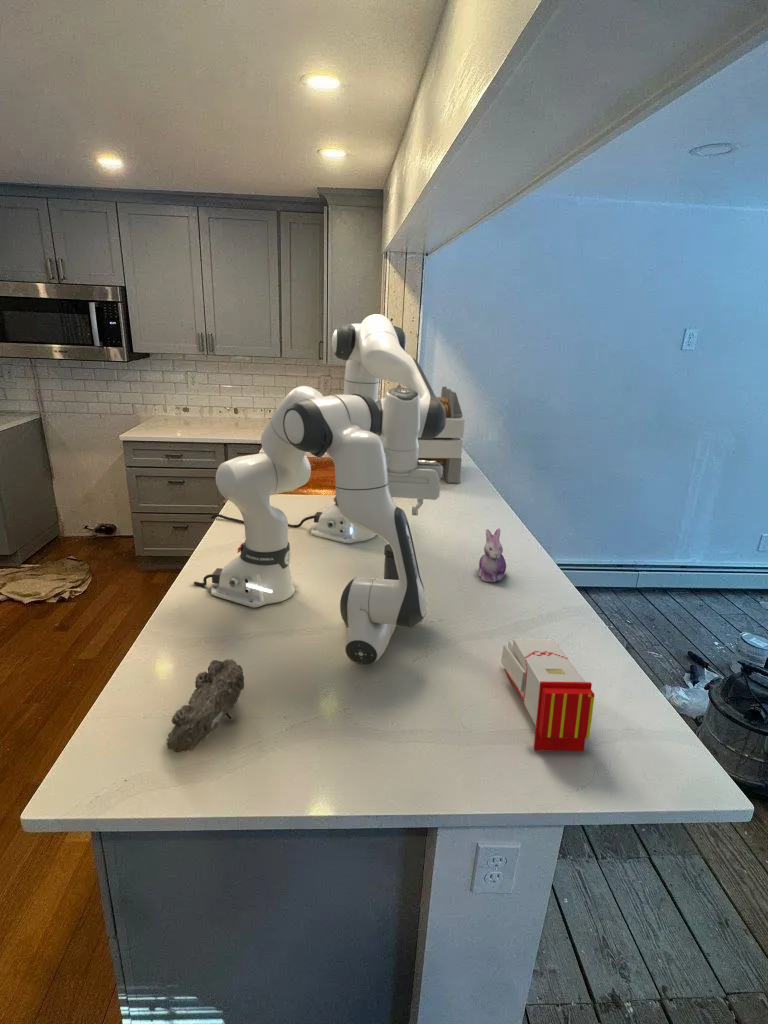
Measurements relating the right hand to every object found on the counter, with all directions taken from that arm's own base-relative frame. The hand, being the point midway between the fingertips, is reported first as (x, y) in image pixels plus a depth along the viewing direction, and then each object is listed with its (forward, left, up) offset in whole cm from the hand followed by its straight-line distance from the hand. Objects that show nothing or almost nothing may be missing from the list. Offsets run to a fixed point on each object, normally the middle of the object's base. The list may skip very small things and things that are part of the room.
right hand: (396, 513), depth 139 cm
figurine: (+23, +31, -28) cm, 47 cm away
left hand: (0, +1, -22) cm, 22 cm away
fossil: (-22, -50, -28) cm, 61 cm away
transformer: (-22, +133, -28) cm, 138 cm away
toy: (+38, -25, -28) cm, 53 cm away
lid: (0, 0, -9) cm, 9 cm away
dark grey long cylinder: (0, 0, -28) cm, 28 cm away
